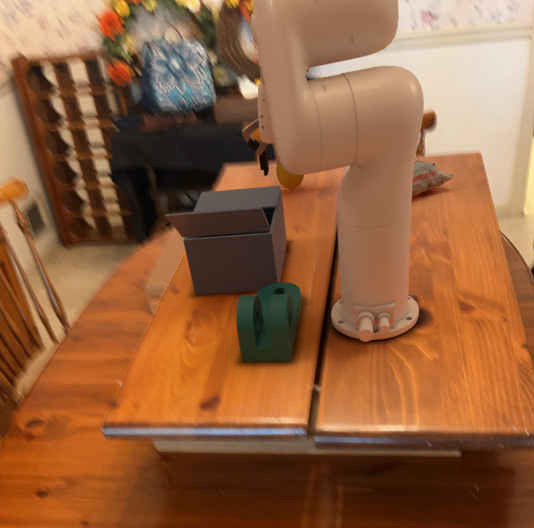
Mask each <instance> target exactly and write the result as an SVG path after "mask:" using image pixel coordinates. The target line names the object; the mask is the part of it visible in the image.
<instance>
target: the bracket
mask: <svg viewBox="0 0 534 528" xmlns="http://www.w3.org/2000/svg"><path fill="white" fill-rule="evenodd" d="M301 292H302V291H301V288H300V286H298V285H297V284H295V283H292V282H288V281H280V282H278V283H273V284H269V285H267V286H265V287H263V288H261V289H260V290H259V291H257V293H256V294H251V295H250V294H249V295H240V296H239V297H238V299H237V303H236V309H235V312H236V314H235V320H236V322H235V324H236V333H237V338H238V344H239V349H240V354H241V359H242V360H241V361H242V362H243V363H264V362H291V359H292V355H293V350H294V346H295V339H296V335H297V330H298V325H299V320H300V316H301V311H302V306H303V303H302V293H301Z"/></svg>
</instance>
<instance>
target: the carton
mask: <svg viewBox="0 0 534 528" xmlns="http://www.w3.org/2000/svg"><path fill="white" fill-rule="evenodd" d="M281 186H282V185H271V186H260V187H249V188H238V189H237V188H236V189H226V190H225V189H224V190H213V191H201V193H200V195H199V197H198V199H197V201H196V203H195V206H194V208H193V211H192V212H199V211H211V210H223V209H236V208H248V207H260V206H261V207H262V209H263V212H264V214H265V216H266V219H267V221H268V224H269V226H270V229H271V231H262V232H248V233H235V234H222V235H209V236H196V237H183V240H182V243H183V246H184V250H185V255H186V259H187V264H188V269H189V272H190V278H191V282H192V287H193V290H194V294H195V296H203V295H207V296H208V295H220V294H237V293H255V292H257V293H258V291H259V290H260V289H261V288H263V287H265V286H267V285H269V284H273V283H278V282H281V279H282V272H283V266H284V261H285V256H286V251H287V246H288V240H287V238H288V237H287V229H286V220H285V219H286V218H285V211H284V201H283V191H282V189H281Z"/></svg>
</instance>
